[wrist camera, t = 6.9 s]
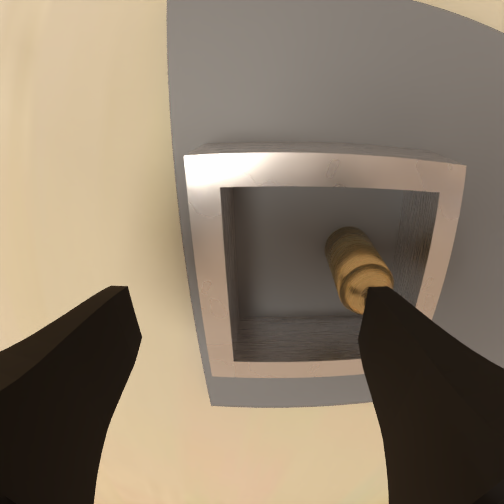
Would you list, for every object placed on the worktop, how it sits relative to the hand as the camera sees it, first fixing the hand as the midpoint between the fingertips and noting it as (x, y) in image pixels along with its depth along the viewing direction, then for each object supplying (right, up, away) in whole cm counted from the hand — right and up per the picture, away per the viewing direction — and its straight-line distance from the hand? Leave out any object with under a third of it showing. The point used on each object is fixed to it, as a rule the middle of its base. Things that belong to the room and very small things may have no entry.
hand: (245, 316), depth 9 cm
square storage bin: (+3, +2, +4) cm, 5 cm away
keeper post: (+4, +2, +5) cm, 7 cm away
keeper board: (+8, +2, +4) cm, 10 cm away
